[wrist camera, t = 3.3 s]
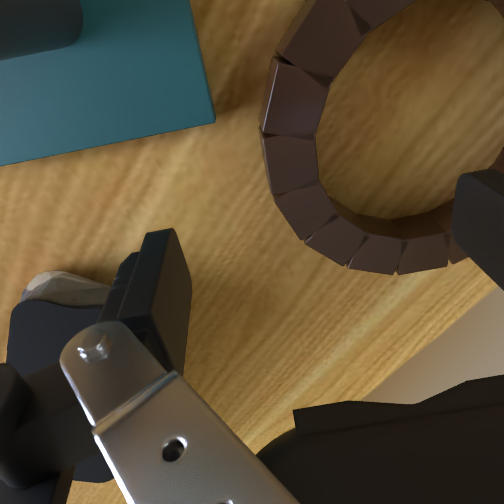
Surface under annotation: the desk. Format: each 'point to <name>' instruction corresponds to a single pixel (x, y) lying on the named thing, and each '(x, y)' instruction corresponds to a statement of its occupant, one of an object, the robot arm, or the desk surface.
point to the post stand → (97, 74)
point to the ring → (305, 153)
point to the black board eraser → (56, 335)
